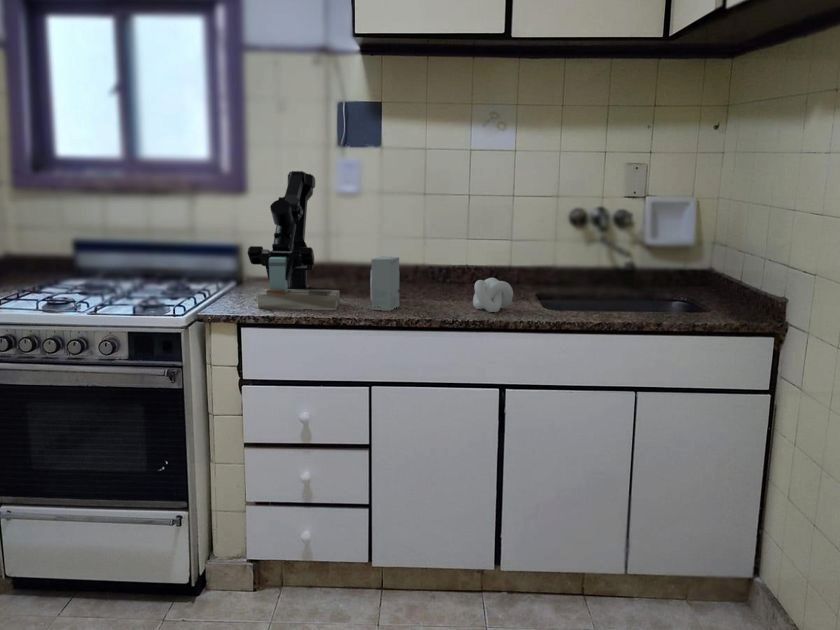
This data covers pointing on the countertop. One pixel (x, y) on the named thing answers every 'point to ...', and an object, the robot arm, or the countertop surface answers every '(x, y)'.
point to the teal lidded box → (278, 273)
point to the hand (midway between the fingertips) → (277, 279)
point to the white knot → (492, 294)
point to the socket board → (299, 299)
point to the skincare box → (385, 283)
